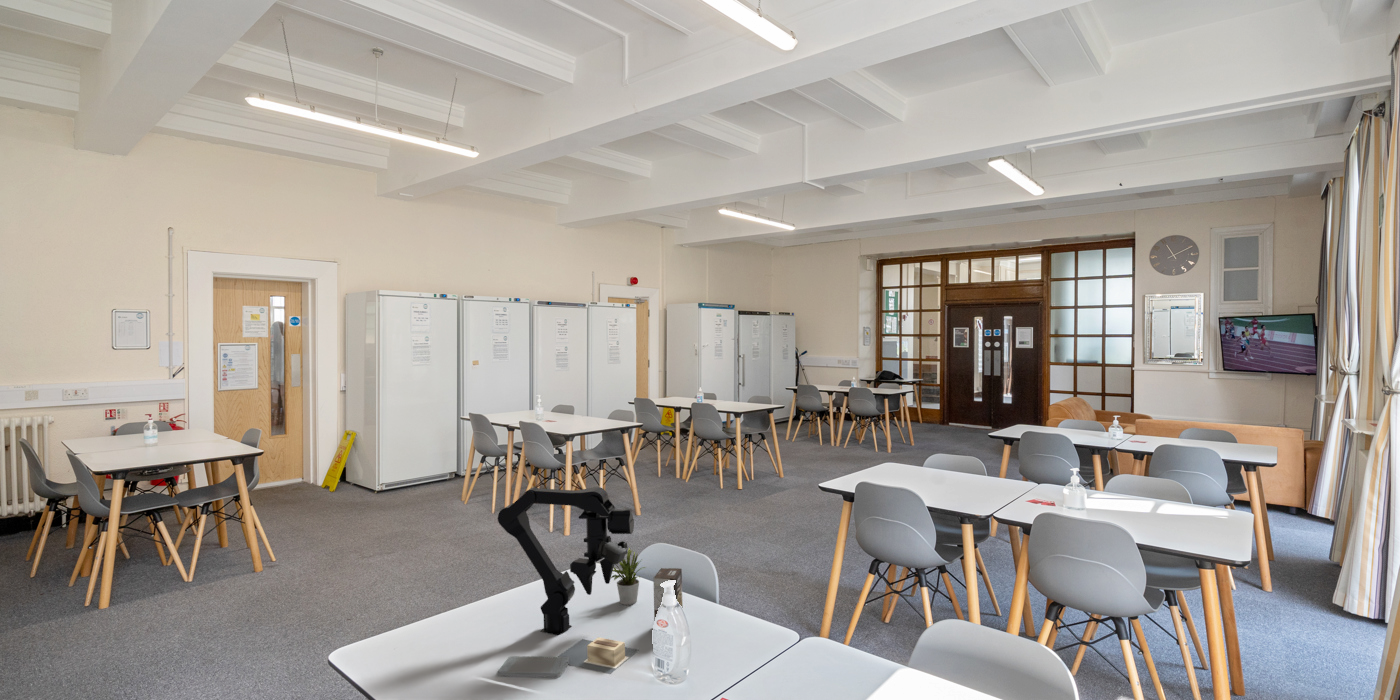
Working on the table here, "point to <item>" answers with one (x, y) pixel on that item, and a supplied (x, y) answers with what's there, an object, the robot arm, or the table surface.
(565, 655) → the mat
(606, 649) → the cream block with stripe
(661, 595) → the coffee box
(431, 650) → the table surface
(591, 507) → the robot arm
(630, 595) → the house plant
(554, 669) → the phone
